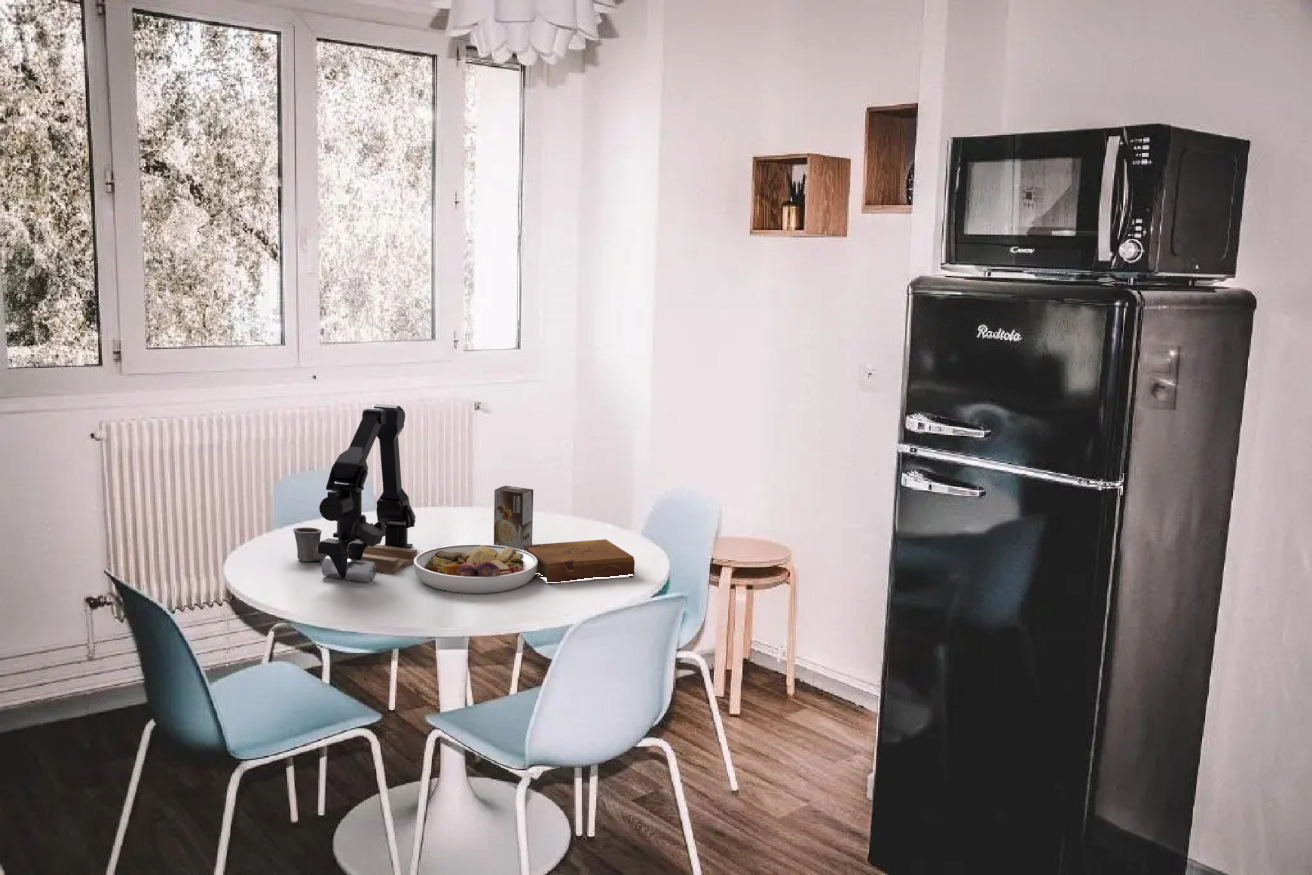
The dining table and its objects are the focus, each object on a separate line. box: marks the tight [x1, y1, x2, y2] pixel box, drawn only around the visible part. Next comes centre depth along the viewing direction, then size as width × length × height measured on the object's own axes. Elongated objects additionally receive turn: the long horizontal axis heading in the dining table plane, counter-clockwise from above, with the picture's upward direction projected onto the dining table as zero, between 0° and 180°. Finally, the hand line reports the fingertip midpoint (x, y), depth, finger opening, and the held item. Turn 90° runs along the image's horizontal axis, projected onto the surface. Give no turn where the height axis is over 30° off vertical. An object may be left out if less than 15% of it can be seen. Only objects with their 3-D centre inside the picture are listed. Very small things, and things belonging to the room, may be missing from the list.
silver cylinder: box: [320, 556, 378, 584], centre depth 284 cm, size 5×12×5 cm, turn 73°
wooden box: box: [523, 538, 635, 582], centre depth 301 cm, size 23×19×6 cm
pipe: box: [292, 526, 329, 563], centre depth 298 cm, size 6×13×8 cm, turn 78°
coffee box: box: [493, 485, 534, 551], centre depth 320 cm, size 9×6×16 cm
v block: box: [348, 544, 418, 575], centre depth 299 cm, size 13×14×3 cm
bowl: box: [413, 543, 538, 594], centre depth 290 cm, size 30×30×8 cm
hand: (348, 574), depth 285 cm, fingers closed on silver cylinder, 5 cm apart
